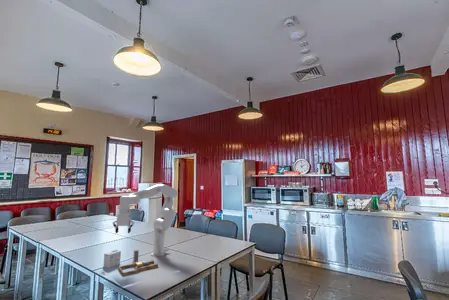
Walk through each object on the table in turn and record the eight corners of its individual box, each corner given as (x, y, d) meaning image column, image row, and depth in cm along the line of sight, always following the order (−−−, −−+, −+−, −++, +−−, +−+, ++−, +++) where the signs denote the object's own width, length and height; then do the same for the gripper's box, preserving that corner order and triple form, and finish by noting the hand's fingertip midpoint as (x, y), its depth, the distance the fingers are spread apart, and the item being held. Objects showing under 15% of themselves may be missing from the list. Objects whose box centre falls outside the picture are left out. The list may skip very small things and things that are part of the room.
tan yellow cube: (140, 267, 173) (140, 261, 174) (142, 268, 171) (142, 263, 171) (135, 268, 171) (135, 262, 171) (137, 270, 168) (137, 264, 168)
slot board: (152, 263, 184) (152, 259, 184) (158, 268, 173) (158, 264, 173) (118, 270, 169) (118, 266, 169) (122, 277, 157) (122, 272, 158)
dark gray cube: (147, 265, 177) (147, 260, 177) (148, 267, 173) (149, 261, 174) (141, 266, 174) (142, 261, 175) (143, 268, 171) (143, 262, 172)
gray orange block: (136, 263, 184) (137, 249, 185) (138, 265, 180) (139, 250, 181) (132, 264, 182) (133, 249, 183) (134, 266, 178) (135, 251, 179)
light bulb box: (114, 263, 183) (115, 249, 184) (120, 264, 180) (121, 250, 182) (102, 268, 173) (103, 253, 175) (109, 269, 171) (110, 254, 172)
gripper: (136, 210, 189) (135, 231, 187) (115, 210, 188) (114, 231, 186) (133, 212, 181) (131, 234, 179) (111, 212, 181) (109, 234, 179)
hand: (122, 232), depth 183 cm, fingers open, 9 cm apart
